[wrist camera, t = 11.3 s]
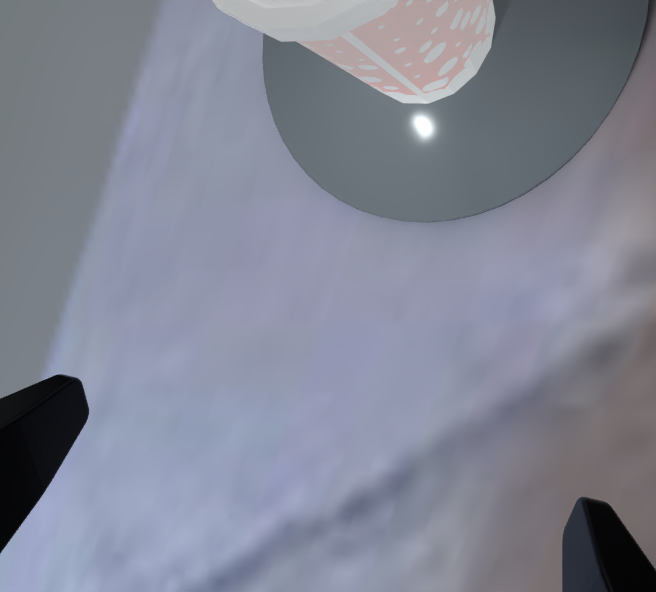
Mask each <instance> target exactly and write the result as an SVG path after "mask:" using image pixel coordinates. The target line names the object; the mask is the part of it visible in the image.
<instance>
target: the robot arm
mask: <svg viewBox="0 0 656 592" xmlns="http://www.w3.org/2000/svg"><path fill="white" fill-rule="evenodd" d="M88 415H89V407H88V403H87V400H86V396H85V392H84V388H83V385H82V382H81V381H80V380H79V379H78V378H75V377H71V376H67V375H62V374H59V375H55V376H52V377H50V378H48V379H45V380H43V381H41V382H38V383H36V384H34V385H31V386H29V387H27V388H24V389H22V390H20V391H18V392H15V393H13V394H10V395H8V396H6V397H3V398H1V399H0V553H1V552H2V550H3V549H4V548H5V546H6V545H7V544H8V542H9V541H10V539H11V538H12V537H13V535H14V534H15V533H16V531H17V530H18V528H19V527H20V526H21V524H22V523H23V521H24V520H25V519H26V517H27V516H28V515H29V513H30V512H31V510H32V509H33V508H34V506H35V505H36V504H37V502H38V501H39V499H40V498H41V496H42V495H43V493H44V492H45V491H46V489H47V487H48V486H49V484H50V483H51V481H52V479H53V478H54V476H55V474H56V473H57V471H58V469H59V468H60V466H61V464H62V462H63V461H64V459H65V457H66V456H67V454H68V452H69V451H70V449H71V447H72V445H73V444H74V442H75V440H76V439H77V437H78V435H79V434H80V432H81V430H82V429H83V427H84V425H85V423H86V421H87V419H88ZM562 592H656V570H655V568H654V567H653V565H652V564H651V563H650V561H649V560H648V558H647V557H646V555H645V554H644V553H643V551H642V550H641V548H640V547H639V545H638V544H637V543H636V541H635V540H634V538H633V537H632V535H631V534H630V533H629V531H628V530H627V528H626V527H625V526H624V524H623V523H622V521H621V520H620V518H619V517H618V516H617V514H616V513H615V511H614V510H613V508H612V507H611V506H610V505H609V504H608V503H606V502H603V501H599V500H595V499H591V498H587V497H581V498H579V499H578V500H577V502H576V504H575V506H574V508H573V510H572V513H571V515H570V517H569V519H568V522H567V524H566V526H565V529H564V533H563V542H562Z"/></svg>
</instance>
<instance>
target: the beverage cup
mask: <svg viewBox="0 0 656 592" xmlns="http://www.w3.org/2000/svg"><path fill="white" fill-rule="evenodd" d="M212 1H213V2H214V4H215V5H216V6H217V8H218V9H220V10H221V11H223V12H224V13H226V14H228V15H230V16H232V17H234V18H236V19H238V20H239V21H240V22H242V23H244V24H246V25H248V26H250V27H252V28H254V29H256V30H258V31H260V32H262V33H264V34H266V35H268V36H270V37H272V38H274V39H276V40H279V41H281V42H290V41H296V42H298V43H300V44H301V45H303V46H305V47H306V48H308V49H310V50H311V51H313V52H315V53H317V54H318V55H320V56H322V57H323V58H325V59H327V60H328V61H330V62H332V63H333V64H335V65H337V66H338V67H340V68H342V69H343V70H345V71H347V72H348V73H350V74H352V75H353V76H355V77H357V78H358V79H360V80H362V81H363V82H365V83H367V84H369V85H370V86H372V87H374V88H375V89H377V90H379V91H380V92H382V93H384V94H386V95H388V96H390V97H392V98H394V99H396V100H398V101H400V102H402V103H422V104H429V103H431V102H434V101H436V100H439V99H442V98H444V97H447V96H449V95H452V94H454V93H455V92H456V91H458V90H459V89H460V88H461V87H462V86H463V85H464V84H465V83H466V82H468V81H469V80H470V79H471V78H472V77H473V76H474V75H475V74H476V73H477V72H478V70H479V68H480V66H481V64H482V63H483V61H484V59H485V57H486V55H487V53H488V52H489V50H490V48H491V44H492V38H493V31H494V25H495V18H496V17H495V12H494V6H493V0H212Z"/></svg>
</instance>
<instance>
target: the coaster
mask: <svg viewBox="0 0 656 592" xmlns="http://www.w3.org/2000/svg"><path fill="white" fill-rule="evenodd" d="M648 3H649V0H493V6H494V12H495V17H496V18H495V25H494V31H493V38H492V44H491V48H490V50H489V52H488V53H487V55H486V57H485V59H484V61H483V63H482V64H481V66H480V68H479V70H478V72H477V73H476V74H475V75H474V76H473V77H472V78H471V79H470V80H469V81H468V82H466V83H465V84H464V85H463V86H462V87H461V88H460V89H459V90H458V91H456V92H455V93H454V94H452V95H449V96H447V97H444V98H442V99H439V100H436V101H434V102H431V103H429V104H422V103H402V102H400V101H398V100H396V99H394V98H392V97H390V96H388V95H386V94H384V93H382V92H380V91H379V90H377V89H375V88H374V87H372V86H370V85H369V84H367V83H365V82H363V81H362V80H360V79H358V78H357V77H355V76H353V75H352V74H350V73H348V72H347V71H345V70H343V69H342V68H340V67H338V66H337V65H335V64H333V63H332V62H330V61H328V60H327V59H325V58H323V57H322V56H320V55H318V54H317V53H315V52H313V51H311V50H310V49H308V48H306V47H305V46H303V45H301V44H300V43H298V42H296V41H290V42H281V41H279V40H276V39H274V38H272V37H270V36H268V35H266V34H264V35H263V71H264V82H265V87H266V93H267V98H268V103H269V106H270V109H271V112H272V116H273V119H274V122H275V124H276V126H277V129H278V131H279V133H280V135H281V137H282V140H283V142H284V143H285V145H286V146H287V148H288V150H289V151H290V153H291V155H292V156H293V158H294V159H295V160H296V162H297V163H298V164H299V165H300V166H301V168H302V169H303V170H304V171H305V173H306V174H307V175H308V176H309V177H310V178H312V179H313V180H314V181H315V182H316V183H317V184H318V185H319V186H320V187H321V188H322V189H324V190H325V191H327V192H328V193H330V194H331V195H333V196H334V197H335V198H337V199H338V200H340V201H342V202H344V203H346V204H348V205H350V206H352V207H354V208H356V209H358V210H361V211H364V212H367V213H370V214H373V215H376V216H379V217H385V218H390V219H395V220H401V221H409V222H439V221H450V220H456V219H460V218H465V217H469V216H474V215H478V214H481V213H483V212H486V211H489V210H492V209H495V208H497V207H500V206H503V205H505V204H507V203H508V202H510V201H512V200H514V199H516V198H518V197H520V196H522V195H524V194H526V193H528V192H529V191H531V190H532V189H534V188H535V187H537V186H538V185H540V184H541V183H543V182H544V181H546V180H547V179H549V178H550V177H551V176H552V175H554V174H555V173H556V172H557V171H558V170H559V169H561V168H562V167H563V166H564V165H565V164H566V163H568V162H569V161H570V160H571V159H572V158H573V157H574V156H575V155H576V154H577V153H578V152H579V151H580V149H581V148H582V147H583V146H584V145H585V144H586V143H587V142H588V141H589V140H590V139H591V138H592V136H593V135H594V134H595V132H596V131H597V129H598V128H599V127H600V125H601V124H602V123H603V121H604V120H605V118H606V117H607V116H608V114H609V113H610V111H611V110H612V108H613V106H614V104H615V102H616V101H617V99H618V97H619V95H620V93H621V92H622V90H623V88H624V86H625V84H626V81H627V79H628V76H629V74H630V71H631V69H632V66H633V64H634V62H635V59H636V56H637V53H638V50H639V46H640V43H641V39H642V35H643V31H644V27H645V23H646V19H647V11H648Z"/></svg>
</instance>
